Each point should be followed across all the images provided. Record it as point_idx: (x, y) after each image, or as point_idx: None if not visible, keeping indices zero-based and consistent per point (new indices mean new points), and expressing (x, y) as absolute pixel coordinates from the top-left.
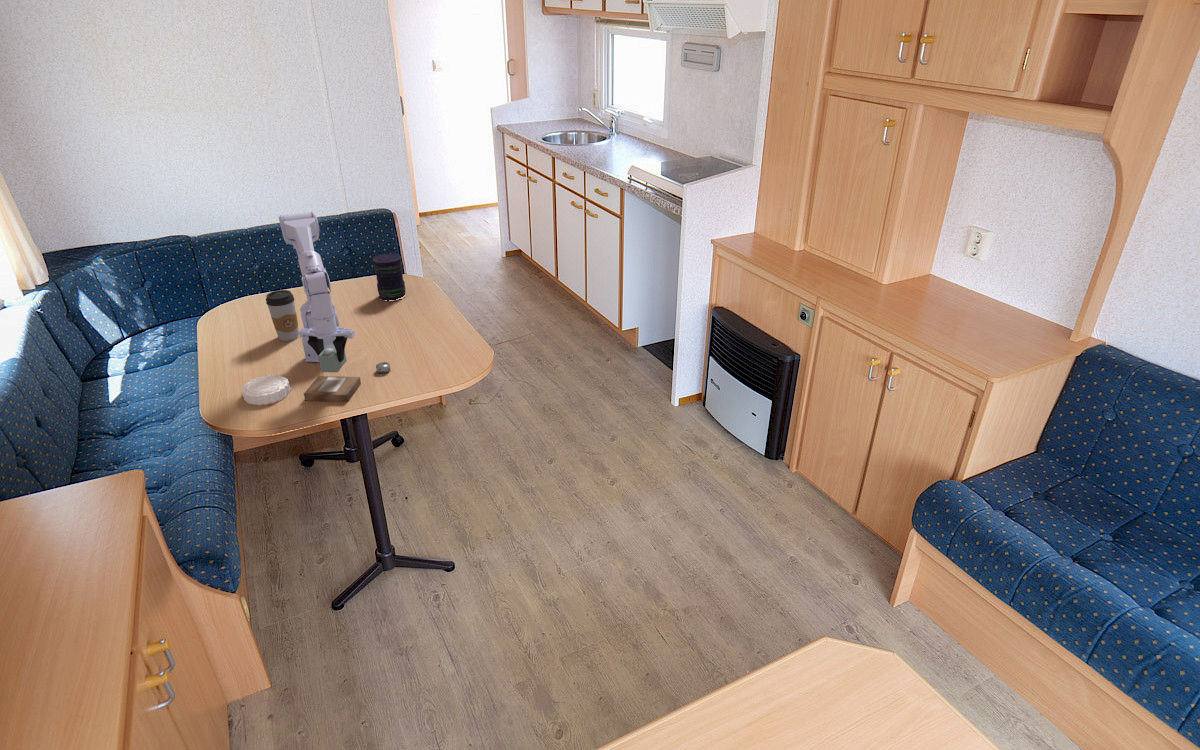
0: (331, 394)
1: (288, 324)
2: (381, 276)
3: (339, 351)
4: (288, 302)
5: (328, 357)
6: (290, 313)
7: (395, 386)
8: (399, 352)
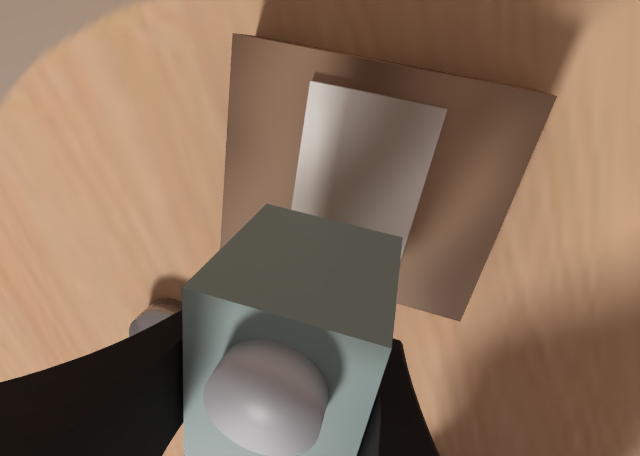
0: (340, 54)
1: None
2: None
3: (121, 348)
4: None
5: (263, 297)
6: None
7: (76, 174)
8: None
